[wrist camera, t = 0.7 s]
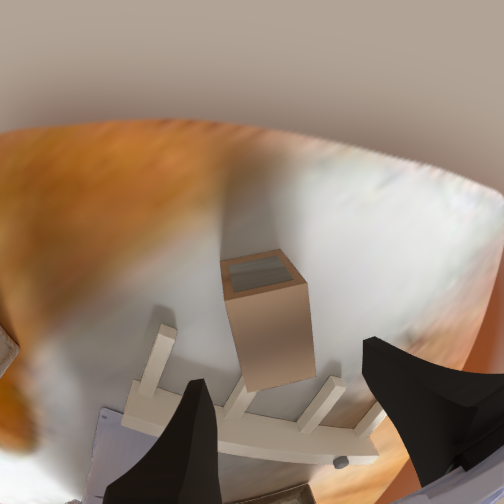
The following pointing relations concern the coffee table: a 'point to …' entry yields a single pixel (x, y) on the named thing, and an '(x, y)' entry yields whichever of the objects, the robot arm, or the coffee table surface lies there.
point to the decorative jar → (6, 351)
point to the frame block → (269, 319)
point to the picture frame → (288, 497)
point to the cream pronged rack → (256, 420)
